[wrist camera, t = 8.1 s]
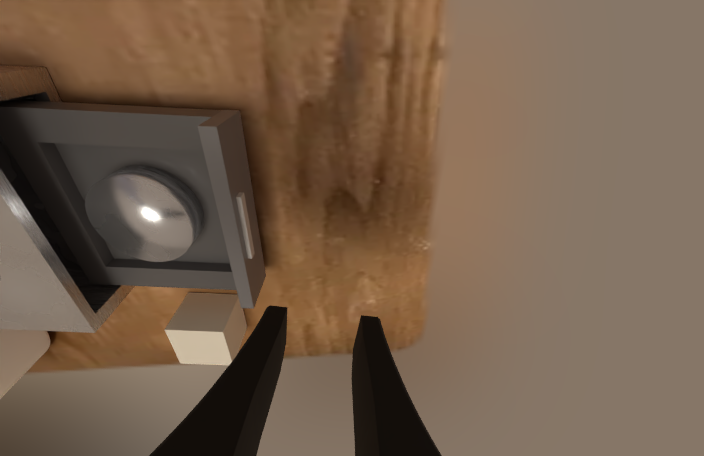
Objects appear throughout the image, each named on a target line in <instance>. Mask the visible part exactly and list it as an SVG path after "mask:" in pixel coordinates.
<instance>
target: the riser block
mask: <svg viewBox="0 0 704 456" xmlns="http://www.w3.org/2000/svg"><path fill="white" fill-rule="evenodd" d="M246 329H247V324H246V320H245V315H244V311H243V308H241V306H240V302H239V298H238V294H217V293H192V292H188V294H187V295H186V297H185V299H184V300H183V302H182V303H181V305H180V306H179V308H178V310H177V311H176V313H175V314H174V316H173V317H172V319H171V320H170V322H169V324H168V325H167V327H166V328H165V332H166V334H167V336H168V338H169V340H170V342H171V344H172V346H173V348H174V351H175V353H176V355H177V357H178V359H179V361H180V363H184V364H210V365H230V364H231V362H232V361H233V360H234V358H235V357H236V355H237V354H238V351H239V348H240V346H241V343H242V340H243V338H244V335H245V332H246Z"/></svg>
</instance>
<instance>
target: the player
mask: <svg viewBox="0 0 704 456" xmlns="http://www.w3.org/2000/svg"><path fill="white" fill-rule="evenodd" d="M8 100H28V101H49V102H62V101H61V99H60V97H59V95H58V93H57V90H56V88H55V86H54V84H53V82H52V80H51V78H50V75H49V73H48V71H47V69H46V67H27V66H7V65H0V102H4V101H8ZM134 287H135V286H129V285H105V284H91V283H90V281H89V279H88V278H87V276H86V275H85V273H84V271H83V270H82V268H81V266H80V265H79V263H78V261H77V260H76V258H75V256H74V255H73V253H72V252H71V250H70V248H69V247H68V245H67V243H66V242H65V240H64V238H63V237H62V235H61V233H60V232H59V230H58V229H57V227H56V225H55V224H54V222H53V220H52V219H51V217H50V215H49V214H48V212H47V210H46V209H45V207H44V206H43V204H42V202H41V201H40V199H39V197H38V196H37V194H36V192H35V191H34V189H33V188H32V186H31V184H30V183H29V181H28V179H27V178H26V176H25V174H24V173H23V171H22V169H21V168H20V166H19V165H18V163H17V161H16V160H15V158H14V156H13V155H12V153H11V151H10V150H9V148H8V146H7V145H6V143H5V142H4V140H3V138H2V137H1V135H0V329H14V330H39V331H65V332H90V333H95V332H96V331H97V330H98V329H99V328H100V326H101V325H102V324H103V323H104V322H105V321H106V319H107V318H108V317H109V316H110V315H111V314H112V312H113V311H114V310H115V309H116V308H117V307H118V305H119V304H120V303H121V302H122V301H123V300H124V299H125V297H126V296H127V295H128V294H129V293H130V292H131V290H132V289H133V288H134Z"/></svg>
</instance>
